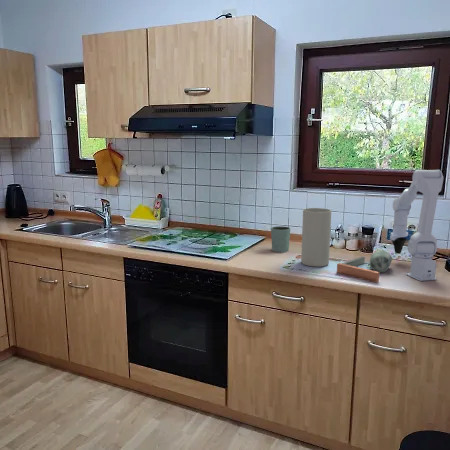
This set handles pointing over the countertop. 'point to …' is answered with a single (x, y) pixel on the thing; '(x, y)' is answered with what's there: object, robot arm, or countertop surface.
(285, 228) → the green cup
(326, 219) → the cylinder vase
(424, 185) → the robot arm
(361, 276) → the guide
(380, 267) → the grey-green rounded piece
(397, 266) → the countertop surface
